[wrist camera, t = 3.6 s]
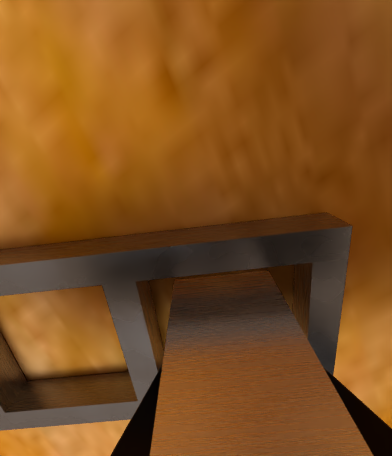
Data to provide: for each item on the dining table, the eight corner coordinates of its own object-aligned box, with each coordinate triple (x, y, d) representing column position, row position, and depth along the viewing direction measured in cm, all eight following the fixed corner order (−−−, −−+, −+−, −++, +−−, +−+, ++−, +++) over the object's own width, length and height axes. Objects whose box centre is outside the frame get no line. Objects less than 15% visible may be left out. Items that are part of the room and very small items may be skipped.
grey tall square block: (267, 269, 10) (524, 720, 2) (268, 341, 11) (425, 765, 4) (174, 279, 10) (109, 736, 2) (186, 349, 11) (171, 773, 4)
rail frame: (331, 169, 8) (358, 176, 7) (313, 371, 12) (329, 402, 11) (-270, 242, 9) (-354, 260, 8) (-117, 410, 13) (-155, 443, 11)
